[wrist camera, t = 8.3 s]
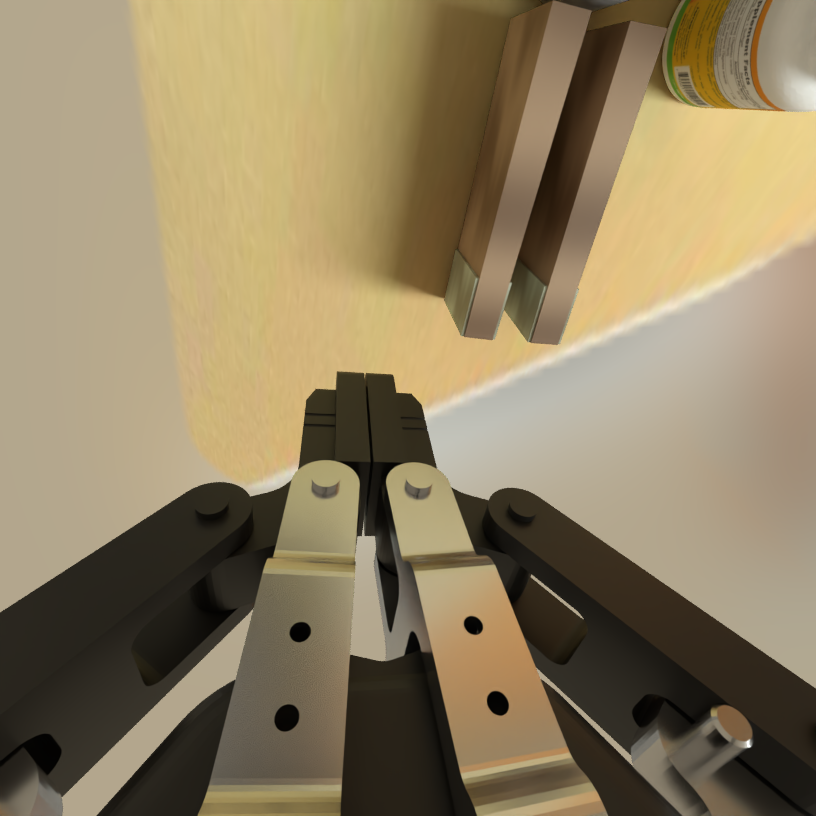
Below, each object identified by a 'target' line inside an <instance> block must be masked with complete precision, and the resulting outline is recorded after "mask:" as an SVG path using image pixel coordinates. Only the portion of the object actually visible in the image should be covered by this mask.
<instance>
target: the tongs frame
mask: <svg viewBox="0 0 816 816" xmlns="http://www.w3.org/2000/svg"><path fill="white" fill-rule="evenodd" d="M540 1H541V2H542V4H546V3H548V2H550V1H553V0H540ZM554 1H558V2H561V3H565V4H569V5H572V6H576V7H580V8H584V9H587V10H591V11H592V12H593V11H596V10H600V9H603V8H606V7H609V6H612V5H615V4H618V3H622V2H625V1H628V0H554ZM666 31H667V28H664V27H659V26H654V25H649V24H644V23H640V22H635V21H627V22H623V23H619V24H615V25H611V26H607V27H603V28H599V29H595V30H590V31H586V32H585V35H584V38H583V42H582V45H581V48H580V52H579V55H578V58H577V62H576V65H575V68H574V72H573V75H572V78H571V82H570V85H569V88H568V91H567V95H566V98H565V101H564V105H563V108H562V111H561V115H560V118H559V121H558V125H557V128H556V131H555V135H554V138H553V141H552V144H551V148H550V151H549V154H548V158H547V161H546V164H545V168H544V171H543V174H542V178H541V181H540V184H539V188H538V191H537V194H536V197H535V201H534V204H533V207H532V211H531V214H530V217H529V221H528V224H527V227H526V231H525V234H524V237H523V241H522V244H521V247H520V250H519V254H518V257H517V260H516V264H515V267H514V270H513V274H512V277H511V280H510V281H511V282H512V284H511V288H510V291H509V294H508V297H507V301H506V304H505V307H504V310H505V311H506V313H507V314H508V316H509V317H510V318H511V320H512V321H513V322H514V324H515V325H516V327H517V328H518V329H519V331H520V332H521V333H522V335H523V336H524V337H525V339H526V340H527V342H531V343H539V344H553V345H558V344H560V342H561V339H562V336H563V333H564V331H565V328H566V325H567V322H568V319H569V316H570V313H571V310H572V308H573V305H574V302H575V299H576V296H577V293H578V290H579V289H578V285H579V282H580V279H581V276H582V274H583V271H584V268H585V265H586V262H587V259H588V256H589V253H590V250H591V248H592V245H593V242H594V239H595V236H596V233H597V230H598V227H599V225H600V222H601V219H602V216H603V213H604V210H605V207H606V204H607V201H608V199H609V196H610V193H611V190H612V187H613V184H614V181H615V178H616V175H617V173H618V170H619V167H620V164H621V161H622V158H623V155H624V152H625V149H626V147H627V144H628V141H629V138H630V135H631V132H632V129H633V126H634V123H635V121H636V118H637V115H638V112H639V109H640V106H641V103H642V100H643V97H644V95H645V92H646V89H647V86H648V83H649V80H650V77H651V74H652V71H653V69H654V66H655V63H656V60H657V57H658V54H659V51H660V48H661V45H662V43H663V40H664V37H665V34H666Z"/></svg>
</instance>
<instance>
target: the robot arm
mask: <svg viewBox="0 0 816 816" xmlns="http://www.w3.org/2000/svg"><path fill="white" fill-rule="evenodd" d="M363 521H364V533H365V536H375V540H376V553H375V560H374V569H375V576H376V583H377V589H378V596H379V603H380V609H381V616H382V622H383V629H384V635H385V645H386V661H376V660H371V659H367V658H362V657H358V656H353V655H350V645H351V629H352V628H351V627H352V612H353V597H354V580H355V553H356V543H357V536H362V530H363ZM531 574H532V575H533V576H535V577H536V578H537V579H538V580H540V581H541V582H542V583H543V584H544V585H546V586H547V587H548V588H549V589H551V590H552V591H553V592H554V593H556V594H557V595H558V596H559V597H561V598H562V599H563V600H564V601H566V602H567V603H568V604H569V605H571V606H572V607H573V608H574V609H576V610H577V611H578V612H579V613H580V614H581V616H582V617H583V618H584V619H582V618H580V617H579V616H578V615H576V614H575V613H574V612H573V611H571V610H570V609H569V608H568V607H567V606H565V605H564V604H563V603H561V602H560V601H559V600H558V599H557V598H555V597H554V596H553V595H552V594H550V593H549V592H548V591H547V590H545V589H544V588H543V587H542V586H541V585H539V584H538V583H537V582H536V581H534V580H533V579H532V578H531ZM253 608H254V609H253ZM252 609H253V613H252V617H251V621H250V625H249V629H248V633H247V637H246V641H245V645H244V648H243V652H242V656H241V660H240V664H239V669H238V672H237V677H236V680H234V681H232V682H230V683H228V684H227V685H225V686H223V687H222V688H220V689H219V690H217V691H216V692H214V693H213V694H211V695H210V696H209V697H207V698H206V699H205V700H203V701H202V702H201V703H200V704H199V705H198V706H196V707H195V708H194V709H193V710H192V711H191V712H190V713H189V714H188V715H187V716H186V717H185V718H184V719H183V720H182V721H181V722H180V723H179V724H178V725H177V727H176V728H175V729H174V730H173V731H172V732H171V733H170V734H169V735H168V737H167V738H166V739H165V740H164V741H163V742H162V743H161V744H160V746H159V747H158V748H157V749H156V750H155V751H154V752H153V753H152V754H151V756H150V757H149V758H148V759H147V760H146V761H145V762H144V763H143V764H142V766H141V767H140V768H139V769H138V770H137V771H136V772H135V773H134V775H133V776H132V777H131V778H130V779H129V780H128V781H127V783H126V784H125V785H124V786H123V787H122V788H121V789H120V790H119V792H117V794H116V795H115V796H114V797H113V798H112V799H111V800H110V801H109V802H108V804H107V805H106V806H105V807H104V808H103V809H102V810H101V811H100V812H99V814H98V815H97V816H816V688H814V687H813V686H811V685H810V684H808V683H807V682H805V681H804V680H803V679H801V678H800V677H798V676H797V675H795V674H794V673H792V672H791V671H790V670H788V669H787V668H785V667H783V666H782V665H781V664H779V663H778V662H776V661H775V660H774V659H772V658H771V657H769V656H768V655H766V654H765V653H763V652H762V651H761V650H759V649H758V648H756V647H755V646H753V645H752V644H750V643H749V642H748V641H746V640H745V639H743V638H742V637H740V636H739V635H737V634H736V633H735V632H733V631H732V630H730V629H729V628H727V627H726V626H724V625H723V624H722V623H720V622H719V621H717V620H716V619H714V618H713V617H711V616H710V615H709V614H707V613H706V612H704V611H703V610H701V609H700V608H698V607H697V606H696V605H694V604H693V603H691V602H690V601H688V600H687V599H685V598H684V597H683V596H681V595H680V594H678V593H677V592H675V591H674V590H672V589H671V588H670V587H668V586H667V585H665V584H664V583H662V582H661V581H659V580H658V579H656V578H655V577H654V576H652V575H651V574H649V573H648V572H646V571H645V570H643V569H642V568H641V567H639V566H638V565H636V564H635V563H633V562H632V561H630V560H629V559H628V558H626V557H625V556H623V555H622V554H620V553H619V552H617V551H616V550H615V549H613V548H612V547H610V546H609V545H607V544H606V543H604V542H603V541H602V540H600V539H599V538H597V537H596V536H594V535H593V534H591V533H590V532H589V531H587V530H586V529H584V528H583V527H581V526H580V525H578V524H577V523H576V522H574V521H573V520H571V519H570V518H568V517H567V516H565V515H564V514H562V513H561V512H560V511H558V510H557V509H555V508H554V507H552V506H551V505H550V504H548V503H547V502H545V501H544V500H542V499H541V498H539V497H538V496H536V495H535V494H533V493H531V492H529V491H526V490H523V489H517V488H504V489H501V490H498V491H497V492H495V493H493V494H492V496H491V497H490V499H489V500H485V499H481V498H478V497H474V496H470V495H467V494H464V493H461V492H459V491H457V490H455V489H453V488H452V487H451V486H450V483H449V481H448V479H447V478H446V476H445V475H444V474H443V473H442V472H441V471H439V470H438V469H437V467H436V463H435V459H434V455H433V451H432V446H431V442H430V438H429V434H428V431H427V426H426V421H425V417H424V413H423V409H422V405H421V404H420V403H419V402H418V401H417V399H416V398H415V397H414V396H413V395H412V394H407V393H396V388H395V382H394V377H393V375H391V374H374V373H366V375H365V377H364V373H355V372H337V377H336V390H326V389H316V390H315V391H314V392H313V393H312V394H311V395H310V396H309V398H308V399H307V400H306V408H305V417H304V426H303V435H302V444H301V452H300V461H299V468H298V471H297V472H296V473H295V474H294V476H293V478H292V480H291V481H290V482H289V483H287V484H286V485H284V486H283V487H281V488H279V489H277V490H274V491H271V492H268V493H264V494H260V495H255V496H251V497H250V496H249V494H248V493H247V492H246V491H245V490H244V489H243V488H241V487H239V486H237V485H234V484H231V483H225V482H216V483H208V484H204V485H200V486H198V487H195V488H193V489H191V490H190V491H188V492H186V493H185V494H183V495H182V496H180V497H178V498H177V499H175V500H174V501H172V502H171V503H169V504H168V505H166V506H164V507H163V508H161V509H160V510H158V511H157V512H156V513H154V514H152V515H151V516H149V517H147V518H146V519H144V520H143V521H141V522H140V523H138V524H137V525H135V526H134V527H132V528H130V529H129V530H127V531H126V532H125V533H123V534H121V535H120V536H118V537H116V538H115V539H113V540H112V541H111V542H109V543H107V544H106V545H104V546H103V547H101V548H99V549H98V550H96V551H95V552H94V553H92V554H90V555H89V556H87V557H86V558H84V559H82V560H81V561H79V562H78V563H76V564H75V565H73V566H72V567H70V568H68V569H67V570H65V571H64V572H63V573H61V574H59V575H58V576H56V577H55V578H53V579H51V580H50V581H48V582H47V583H45V584H44V585H42V586H41V587H39V588H38V589H36V590H35V591H33V592H31V593H30V594H28V595H27V596H25V597H24V598H22V599H21V600H19V601H18V602H16V603H14V604H13V605H11V606H10V607H8V608H7V609H5V610H3V611H2V612H0V816H62V812H63V804H62V798H61V797H63V795H65V794H66V793H67V792H68V791H69V790H70V789H71V788H72V787H73V786H74V785H75V784H76V783H77V782H78V781H79V780H80V779H81V778H82V777H83V776H84V775H85V774H86V773H87V772H88V771H89V770H90V769H91V768H92V767H93V766H94V765H95V764H96V763H97V762H98V761H99V760H100V759H101V758H102V757H103V756H104V755H105V754H106V753H107V752H108V751H109V750H110V749H111V748H112V747H113V746H114V745H115V744H116V743H117V742H118V741H119V740H121V739H122V738H123V737H124V735H126V734H127V732H128V731H130V730H131V729H132V728H133V727H134V726H135V725H136V724H137V723H138V722H139V721H140V720H141V719H142V718H143V717H144V716H145V715H146V714H147V713H148V712H149V711H150V710H151V709H152V708H153V707H154V706H155V705H156V704H157V703H158V702H159V701H160V700H161V699H162V698H163V697H164V696H165V695H166V694H167V693H168V692H169V691H170V690H171V689H172V688H173V687H174V686H175V685H176V684H177V683H178V682H179V681H181V680H182V678H184V677H185V676H186V675H187V674H188V673H189V672H190V671H191V670H192V669H193V668H194V667H195V666H196V665H197V664H198V663H199V662H200V661H201V660H202V659H203V658H204V657H205V656H206V655H207V654H208V653H209V652H210V651H211V650H212V649H213V648H214V647H215V646H216V645H217V644H218V643H219V642H220V641H221V640H222V639H223V638H224V637H225V636H226V635H227V634H228V633H229V632H230V631H231V630H232V629H233V628H234V627H235V626H236V625H237V624H238V623H240V621H242V620H243V619H244V618H245V617H246V616H247V615H248V614H249V613H250V611H251V610H252ZM536 668H538V669H539V670H540V671H541V672H542V673H543V674H544V675H545V676H546V677H547V678H548V679H550V681H551V682H553V683H554V684H555V685H556V686H557V687H558V688H559V689H560V690H561V691H562V692H563V693H564V694H565V695H567V696H568V697H569V698H570V699H571V700H572V701H573V702H574V703H575V704H576V705H577V706H578V707H580V708H581V709H582V710H583V711H584V712H585V713H586V714H587V715H588V716H589V717H590V718H591V719H592V720H594V721H595V722H596V723H597V724H598V725H599V726H600V727H601V728H602V729H603V730H604V731H605V732H606V733H608V734H609V735H610V736H611V737H612V738H613V739H614V740H615V741H616V742H617V743H618V744H619V745H621V746H622V747H623V748H624V749H625V750H626V751H627V752H628V753H629V754H630V755H631V758H632V763H633V766H632V765H631V764H630V763H629V762H628V761H627V760H625V758H624V757H623V756H621V754H620V753H619V752H618V751H617V750H616V749H614V747H613V746H612V745H610V744H609V743H608V742H607V741H606V740H605V739H604V738H603V737H602V736H601V735H600V734H599V733H598V732H597V731H596V730H595V729H594V728H593V727H592V726H591V725H590V724H589V723H588V722H587V721H586V720H585V719H584V718H583V717H582V716H581V715H580V714H579V713H578V712H577V711H576V710H575V709H574V708H573V707H572V706H571V705H570V704H569V703H568V702H567V701H566V700H565V699H564V698H563V697H562V696H561V695H560V694H559V693H558V692H556V691H555V690H554V689H553V688H552V687H550V686H549V685H548V684H547V683H545V682H544V681H543V680H541V679H540V677H539V674H538V672H537V669H536Z"/></svg>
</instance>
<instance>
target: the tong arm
mask: <svg viewBox="0 0 816 816" xmlns="http://www.w3.org/2000/svg"><path fill="white" fill-rule="evenodd" d="M591 12H592V11H591V10H587V9H584V8H580V7H576V6H572V5H569V4H565V3H561V2H558V1H554V0H553V1H550V2H548V3H546V4H543V5H541V6H539V7H536V8H534V9H532V10H530V11H527V12H525V13H523V14H520V15H518V16H516V17H513V18H511V20H510V24H509V28H508V33H507V37H506V42H505V46H504V50H503V55H502V59H501V63H500V68H499V72H498V76H497V81H496V85H495V90H494V94H493V98H492V103H491V107H490V111H489V116H488V120H487V124H486V129H485V133H484V138H483V142H482V146H481V151H480V155H479V159H478V164H477V168H476V173H475V177H474V181H473V186H472V190H471V194H470V199H469V203H468V207H467V212H466V216H465V221H464V225H463V229H462V234H461V238H460V242H459V247H458V249H456V250H455V255H454V259H453V264H452V268H451V272H450V277H449V281H448V286H447V290H446V294H445V299H444V301H445V303H446V305H447V307H448V309H449V311H450V314H451V316H452V318H453V320H454V322H455V324H456V326H457V328H458V330H459V332H460V335H461V336H464V337H469V338H478V339H487V340H493V339H494V340H495V337H496V334H497V330H498V327H499V324H500V320H501V317H502V314H503V311H504V307H505V304H506V301H507V297H508V294H509V291H510V288H511V284H512V282H511V281H510V280H511V277H512V274H513V270H514V267H515V264H516V260H517V257H518V254H519V250H520V247H521V244H522V241H523V237H524V234H525V231H526V227H527V224H528V221H529V217H530V214H531V211H532V207H533V204H534V201H535V197H536V194H537V191H538V188H539V184H540V181H541V178H542V174H543V171H544V168H545V164H546V161H547V158H548V154H549V151H550V148H551V144H552V141H553V138H554V135H555V131H556V128H557V125H558V121H559V118H560V115H561V111H562V108H563V105H564V101H565V98H566V95H567V91H568V88H569V85H570V82H571V78H572V75H573V72H574V68H575V65H576V62H577V58H578V55H579V52H580V48H581V45H582V42H583V38H584V35H585V32H586V29H587V25H588V22H589V19H590V15H591Z"/></svg>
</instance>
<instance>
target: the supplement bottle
mask: <svg viewBox="0 0 816 816" xmlns="http://www.w3.org/2000/svg"><path fill="white" fill-rule="evenodd" d="M662 66H663V73H664V77H665V81H666V84H667V86H668V88H669V90H670V91H671V93H672V94H673V95H674V96H675V97H676V98H677V99H678V100H679V101H681V102H682V103H684V104H687V105H689V106H693V107H701V108H723V109H746V110H767V111H787V112H809V111H816V0H682V1H681V2H680V4H679V5H678V7H677V9H676V11H675V13H674V15H673V17H672V19H671V22H670V24H669V27H668V30H667V33H666V36H665V40H664V46H663V54H662Z"/></svg>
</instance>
